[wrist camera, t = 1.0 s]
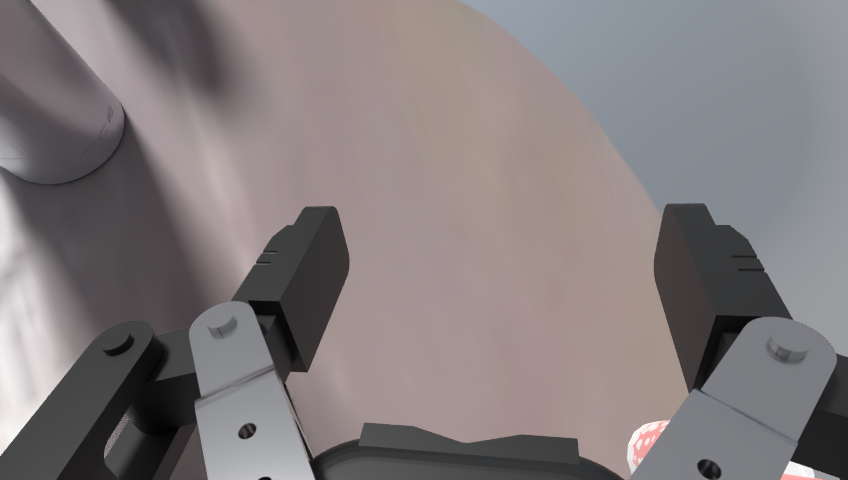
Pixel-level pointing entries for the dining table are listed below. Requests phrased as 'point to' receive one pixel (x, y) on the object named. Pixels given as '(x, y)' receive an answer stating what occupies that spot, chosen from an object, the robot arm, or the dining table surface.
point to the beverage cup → (794, 476)
